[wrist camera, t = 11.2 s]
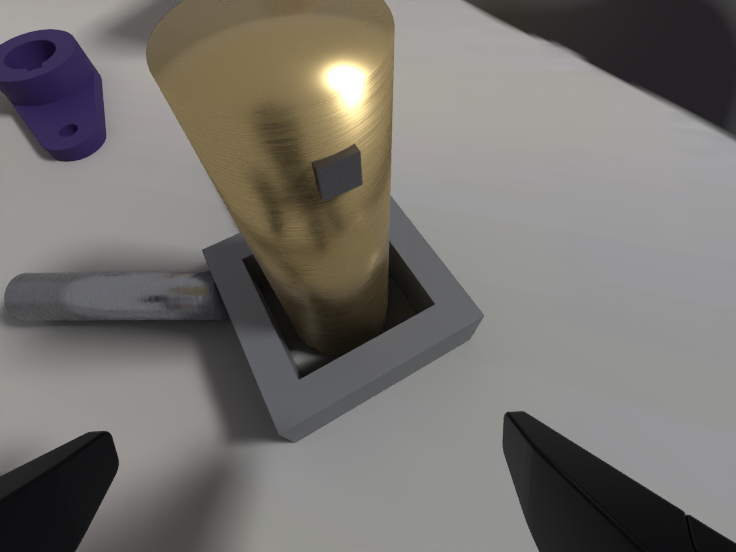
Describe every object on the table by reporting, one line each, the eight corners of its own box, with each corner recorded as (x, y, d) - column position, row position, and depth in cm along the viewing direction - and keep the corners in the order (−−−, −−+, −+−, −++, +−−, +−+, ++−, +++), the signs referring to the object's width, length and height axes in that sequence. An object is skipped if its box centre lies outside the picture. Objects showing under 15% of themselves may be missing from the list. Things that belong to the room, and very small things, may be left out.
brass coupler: (407, 328, 19) (450, 56, 7) (319, 377, 18) (190, 158, 6) (356, 251, 22) (323, -53, 9) (276, 291, 21) (119, 7, 8)
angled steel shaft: (235, 285, 21) (218, 262, 18) (226, 326, 19) (207, 307, 17) (55, 286, 21) (18, 264, 19) (36, 327, 20) (-5, 308, 18)
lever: (15, 87, 31) (-22, 48, 28) (93, 60, 32) (66, 20, 29) (39, 180, 26) (-3, 143, 23) (131, 142, 27) (103, 103, 24)
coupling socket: (470, 339, 19) (484, 315, 16) (294, 442, 17) (278, 435, 14) (374, 208, 23) (373, 173, 20) (224, 279, 21) (201, 249, 18)
